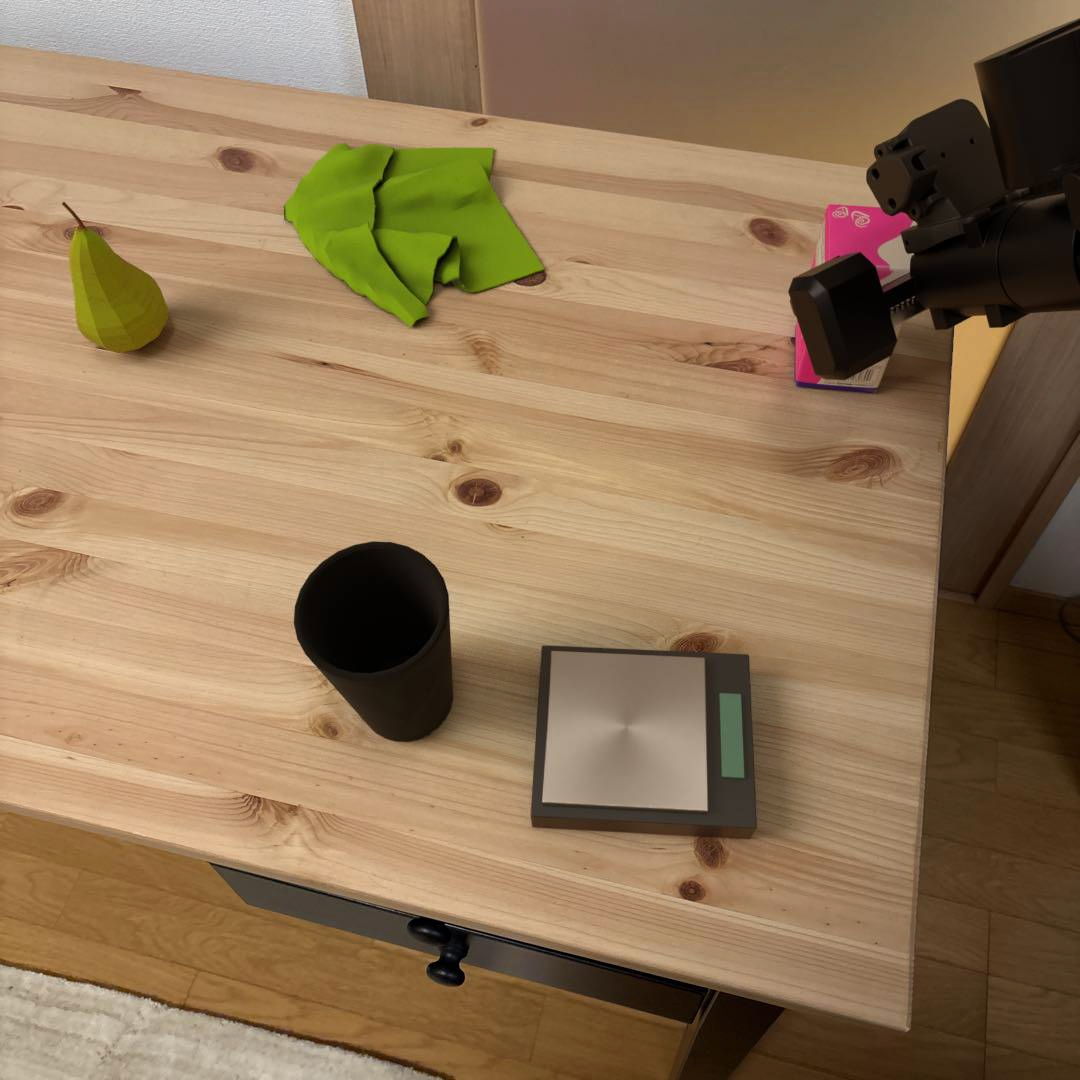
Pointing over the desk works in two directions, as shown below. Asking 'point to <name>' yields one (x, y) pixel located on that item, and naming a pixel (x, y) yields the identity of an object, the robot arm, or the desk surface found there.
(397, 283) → the cloth
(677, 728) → the scale
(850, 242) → the supplement box
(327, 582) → the cup
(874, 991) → the desk surface
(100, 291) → the fruit
